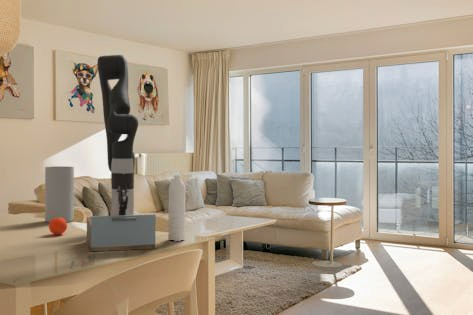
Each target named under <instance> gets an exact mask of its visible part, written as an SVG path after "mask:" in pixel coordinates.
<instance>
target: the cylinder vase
mask: <svg viewBox="0 0 473 315" xmlns="http://www.w3.org/2000/svg"><path fill="white" fill-rule="evenodd" d="M44 172H45V173H44V177H45V179H44V186H45V187H44V190H45V191H44V192H45V193H44V197H45V198H44V202H45V205H44V206H45V207H44V210H45V211H44V216H45V217H44V221H45V222H46V223H48V224H49V223H50V221H51V220H52V219H53V218H56V217H60V218H63V219H64V220H65V221H66V223H70V222H74V219H75V218H74V216H75V214H74V212H75V211H74V209H75V206H74V201H75V199H74V198H75V194H74V193H75V190H74V189H75V186H74V184H75V182H74V181H75V178H74V177H75V168H74V166H62V165H61V166H45V170H44Z"/></svg>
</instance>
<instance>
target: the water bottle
mask: <svg viewBox="0 0 473 315" xmlns="http://www.w3.org/2000/svg"><path fill="white" fill-rule="evenodd" d="M184 176H185V178H192V173H191V174H190V173H186V174H184ZM181 178H182V177H181V174H174V175H173V179H172V181H171V182H170V183H169V186H168V209H167V210H168V223H167V224H168V225H167V226H168V228H167V229H168V230H167V232H168V235H167V239H169V240H168V241H170V240H174V241H173V242H182V241H181V240H184V241H185V240H186V216H187V215H186V194H187V193H186V191H187V190H186V189H187V188H186V185H185V183H184V181H183V180H182V179H181Z"/></svg>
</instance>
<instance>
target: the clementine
mask: <svg viewBox="0 0 473 315" xmlns="http://www.w3.org/2000/svg"><path fill="white" fill-rule="evenodd" d="M48 229H49V231H50V233H52V234H53V235H56V236H60V235H63V234H64V233H65V232H66V231H67V229H68V222H66V221H65V220H64V219H63V218H60V217H56V218H53V219H52V220H51V221H50V223H49V222H48Z"/></svg>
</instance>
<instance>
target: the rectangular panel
mask: <svg viewBox="0 0 473 315" xmlns="http://www.w3.org/2000/svg"><path fill="white" fill-rule="evenodd" d="M156 216H157V215H156V214H155V213H154V214H153V213H151V214H134V215H116V216H111V215H94V216H93V215H91V216H90V217H91V247H109V246H130V245H151V244H155V245H156V226H157V225H156V222H157V221H156Z"/></svg>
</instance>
